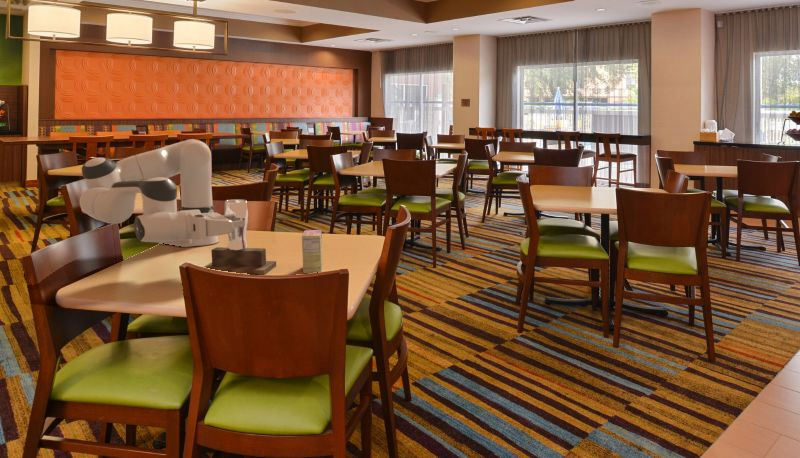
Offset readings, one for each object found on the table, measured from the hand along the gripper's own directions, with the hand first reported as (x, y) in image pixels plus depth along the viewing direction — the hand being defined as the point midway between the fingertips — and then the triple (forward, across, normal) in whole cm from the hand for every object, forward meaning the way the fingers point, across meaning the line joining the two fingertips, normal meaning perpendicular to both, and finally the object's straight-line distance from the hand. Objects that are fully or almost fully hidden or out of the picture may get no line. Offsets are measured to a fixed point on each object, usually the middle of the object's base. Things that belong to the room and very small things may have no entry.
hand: (240, 220), depth 191 cm
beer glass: (-1, -1, -9) cm, 9 cm away
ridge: (-1, 0, -16) cm, 16 cm away
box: (+19, +12, -16) cm, 27 cm away
